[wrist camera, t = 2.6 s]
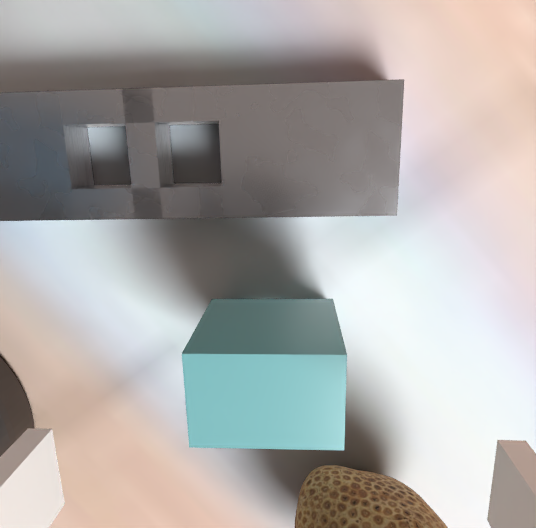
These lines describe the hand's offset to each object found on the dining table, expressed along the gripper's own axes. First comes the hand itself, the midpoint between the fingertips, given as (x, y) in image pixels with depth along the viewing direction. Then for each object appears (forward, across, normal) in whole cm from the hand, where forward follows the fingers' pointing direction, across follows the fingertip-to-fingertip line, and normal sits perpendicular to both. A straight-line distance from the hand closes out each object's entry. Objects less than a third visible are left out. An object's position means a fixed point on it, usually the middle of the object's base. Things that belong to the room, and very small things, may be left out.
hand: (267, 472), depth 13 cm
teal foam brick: (+12, 0, 0) cm, 13 cm away
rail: (+12, -6, +9) cm, 17 cm away
